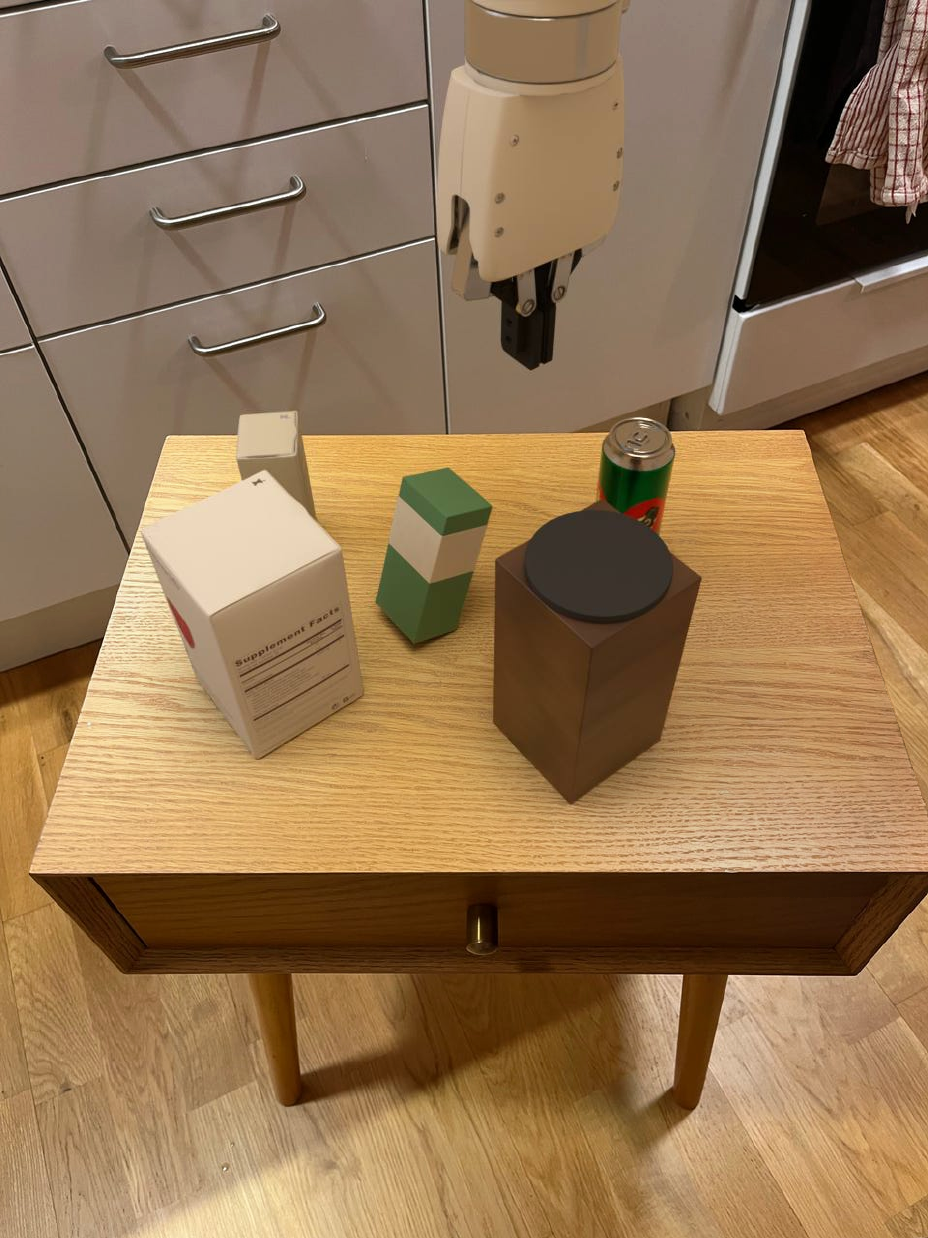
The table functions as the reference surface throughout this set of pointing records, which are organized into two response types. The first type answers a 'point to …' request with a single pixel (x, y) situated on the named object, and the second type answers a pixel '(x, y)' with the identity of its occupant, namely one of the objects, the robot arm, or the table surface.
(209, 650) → the rectangular carton
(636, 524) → the coaster
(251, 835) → the table surface
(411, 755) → the table surface
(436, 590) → the block
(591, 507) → the pedestal
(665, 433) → the soda can
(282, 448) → the box
